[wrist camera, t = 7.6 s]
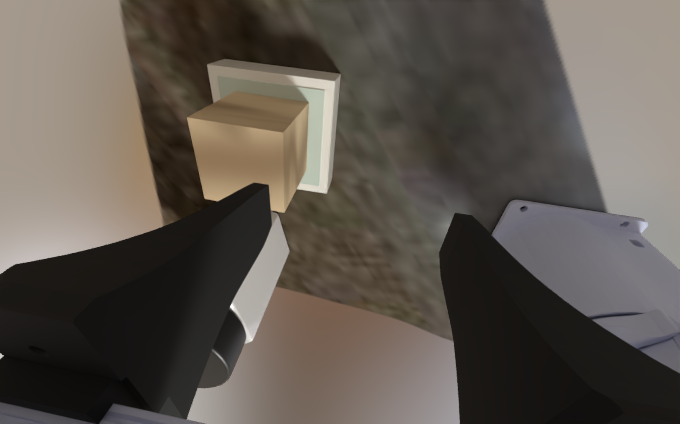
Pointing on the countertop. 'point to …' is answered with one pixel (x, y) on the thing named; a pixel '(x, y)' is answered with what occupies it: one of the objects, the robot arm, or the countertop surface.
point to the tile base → (292, 86)
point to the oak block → (251, 145)
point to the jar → (247, 308)
